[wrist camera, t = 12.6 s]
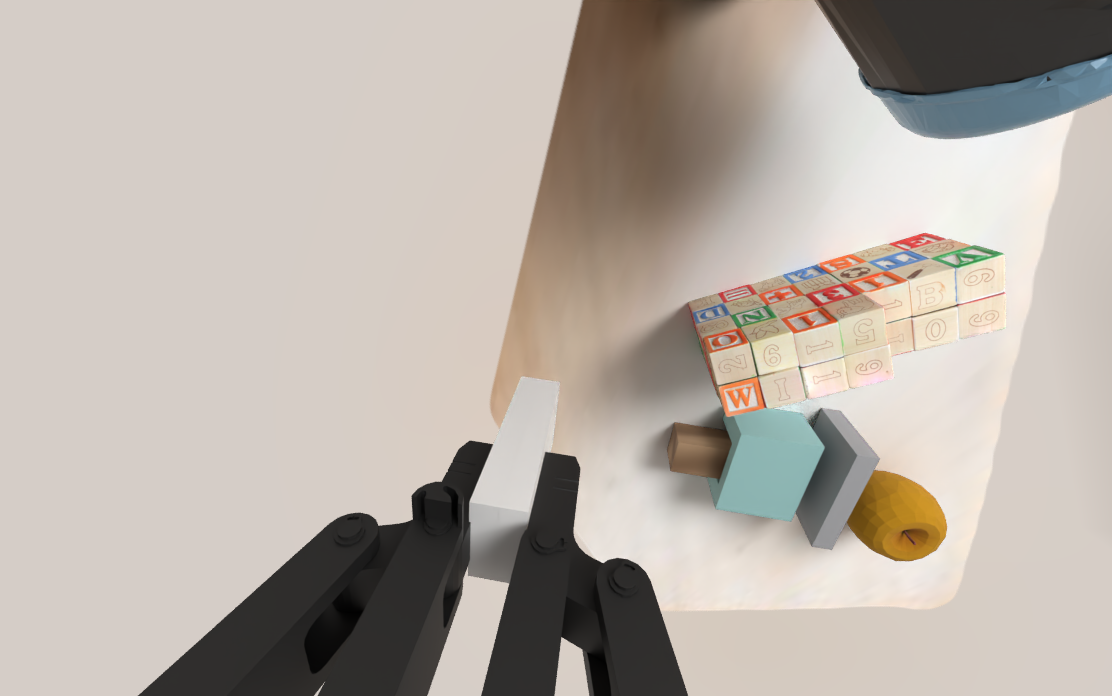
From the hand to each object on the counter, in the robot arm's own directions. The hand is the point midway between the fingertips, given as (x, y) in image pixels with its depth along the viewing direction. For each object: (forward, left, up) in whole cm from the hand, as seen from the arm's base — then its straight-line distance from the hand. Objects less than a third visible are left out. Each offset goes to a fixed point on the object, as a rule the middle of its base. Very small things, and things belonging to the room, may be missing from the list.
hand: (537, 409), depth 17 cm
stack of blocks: (+2, +22, -30) cm, 37 cm away
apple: (+23, +36, -30) cm, 52 cm away
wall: (+20, +29, -29) cm, 46 cm away
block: (+20, +22, -29) cm, 42 cm away
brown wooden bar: (+21, +18, -30) cm, 40 cm away
